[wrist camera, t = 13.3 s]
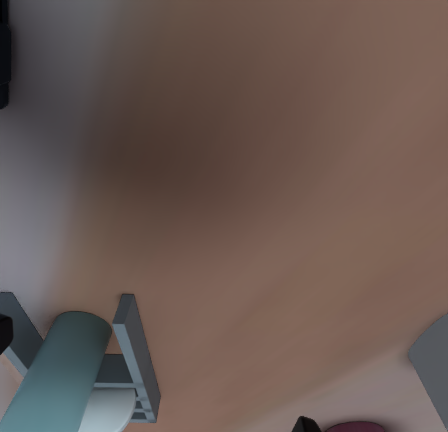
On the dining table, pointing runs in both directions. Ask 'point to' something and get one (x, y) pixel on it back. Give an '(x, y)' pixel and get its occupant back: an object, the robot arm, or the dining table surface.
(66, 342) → the aqua tapered cylinder
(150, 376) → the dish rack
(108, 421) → the white half-round piece
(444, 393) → the lumpy-topped squat cylinder
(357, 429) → the plant pot
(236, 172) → the dining table surface
